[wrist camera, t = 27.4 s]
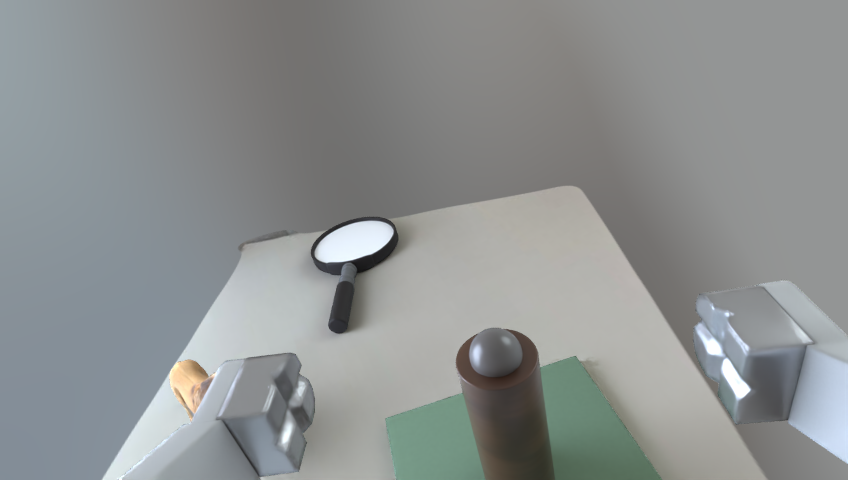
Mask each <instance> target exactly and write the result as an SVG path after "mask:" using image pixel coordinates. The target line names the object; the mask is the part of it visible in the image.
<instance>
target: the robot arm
mask: <svg viewBox="0 0 848 480" xmlns="http://www.w3.org/2000/svg"><path fill="white" fill-rule="evenodd" d="M695 310H696V312H697V313H698V315H699V316H700V318H701V321H700V322H699V323H698V324H697V325H696V326H695V327H694V334H693V342H694V348H695V353H696V356H697V359H698V361H699V364H700V366H701V368H702V369H703V371H704V373H705V374H706V376H707V377H709V378H711V379H713V380H714V381H716V382H718V383H719V388H718V396H719V398H720V399H721V401H722V403H723V404H724V406H725V407H726V409H727V411H728V412H729V414H730V416H731V417H732V419H733V420H734V422H735V424H749V423H761V422H772V421H785V420H788V423H789V424H790V425H792V426H793V427H795V428H797V429H798V430H799V431H800V432H802V433H803V434H805V435H806V436H808V437H809V438H811V439H812V440H814V441H815V442H817V443H818V444H819V445H821V446H822V447H824V448H826V449H827V450H828V451H830V452H831V453H833V454H834V455H836V456H837V457H838V458H840V459H841V460H843V461H844V462H846V463H847V464H848V336H847V335H846V334H845V333H844V332H843V331H842V330H841V329H840V328H839V327H838V326H837V325H836V324H835V323H834V322H833V321H832V320H831V319H830V318H829V317H827V315H825V313H824V312H822V311H821V310H820V309H819V308H818V307H817V306H816V305H815V304H814V303H813V302H812V301H811V300H810V299H809V298H808V297H807V296H806V295H805V294H804V293H803V292H802V291H801V290H800V289H799V288H798V287H797V286H796V285H795V284H794V283H792V282H790V281H787V280H783V281H777V282H771V283H764V284H758V285H756V286H748V287H742V288H735V289H728V290H721V291H715V292H708V293H702V294H699V296H698V298H697V300H696V309H695ZM300 369H301V363H300V361H299V359H298V358H297V356H296V354H293V353H283V354H275V355H266V356H258V357H249V358H246V359H237V360H228V361H225V362H224V363H223V364H221V365H220V367H219V369H218V371H217V373H216V375H215V377H214V378H213V380H212V382H211V384H210V386H209V388H208V390H207V392H206V394H205V396H204V398H203V400H202V401H201V403H200V405H199V407H198V409H197V411H196V413H195V415H194V417H193V419H192V421H191V423H190V424H183V425H182V426H181V427H180V428H178V429H177V430H176V431H175V432H174V433H172V434H171V435H170V436H169V437H168V438H167V439H165V440H164V441H163V442H162V443H161V444H159V445H158V446H157V447H156V448H155V449H154V450H152V451H151V452H150V453H149V454H148V455H146V456H145V457H144V458H143V459H142V460H141V461H139V462H138V463H137V464H136V465H135V466H133V467H132V468H131V469H130V470H129V471H127V472H126V473H125V474H124V475H123V476H122V477H120V478H119V479H118V480H260V478H259V477H264V476H271V475H278V474H285V473H293V472H299V470H300V466H301V462H302V459H303V455H304V451H305V448H306V444H307V442H306V440H305V438H304V436H303V433H304V432H305V431H306V430H307V428H308V427H309V426H310V425H311V424H312V421H313V417H314V413H315V397H314V392H313V388H312V386H311V384H310V382H309V380H308V379H307V378H305V377H304V376H302V375H300V374H299V372H300Z"/></svg>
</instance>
